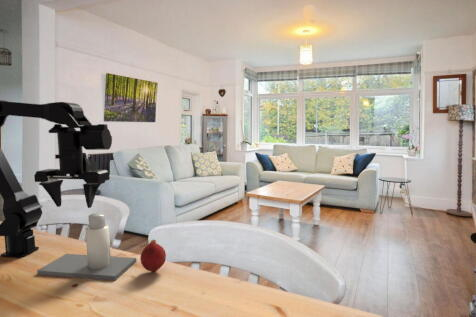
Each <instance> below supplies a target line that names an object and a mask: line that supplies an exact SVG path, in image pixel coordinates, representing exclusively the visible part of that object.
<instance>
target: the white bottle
mask: <svg viewBox="0 0 476 317" xmlns="http://www.w3.org/2000/svg"><path fill="white" fill-rule="evenodd" d="M87 217H88V225H87V226H86V227H85V244H86V255H87V261H88V268H89V269H102V268H105V267H107V266H109V265H110V264H111V243H110V242H111V241H110V240H111V239H110V226H109V224H108V223H106V214H105V213H104V212H96V213H95V212H94V213H90V214H88V216H87Z"/></svg>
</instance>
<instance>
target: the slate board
mask: <svg viewBox="0 0 476 317" xmlns="http://www.w3.org/2000/svg"><path fill="white" fill-rule="evenodd" d="M110 256H111V255H110ZM135 263H137V257H126V256H111V264H110V265H109V266H107V267H105V268H102V269H89V268H88V261H87V254H81V253H80V254H79V253H65V254H63V255H62V256H60V257H58V258H56V259H54V260H53V261H51V262H49V263H48V264H45V265H44V266H42V267H41V268H38V269H37V271H36V272H37V273H36V274H37V276H38V275H40V276H41V275H42V276H50V277H51V276H53V277H54V276H55V277H67V278H80V279H81V278H82V279H96V280H105V281H107V280H108V281H116V280H118V279H119V278H120V277H121V276H122V275H123V274H124V273H125V272H127V271H128V270H129V269H130V268H131V267H132V266H133V265H134V264H135Z"/></svg>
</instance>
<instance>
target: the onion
mask: <svg viewBox="0 0 476 317" xmlns="http://www.w3.org/2000/svg"><path fill="white" fill-rule="evenodd" d="M166 259H167V253H166V250H165V249H164V247H163V246H162V245H160V244H159V243H157V240H156V239H154V238H153V239H151V240H150V242H149V244H147V245H145V247H143V249H142V252H141V254H140V260H139V261H140V264H141V265H142V267H143V269H145V270H146V271H148V272H151V273H156V272H158V270H160V269H161V268H162V267H163V265H165V262H166Z"/></svg>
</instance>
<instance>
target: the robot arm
mask: <svg viewBox="0 0 476 317" xmlns="http://www.w3.org/2000/svg"><path fill="white" fill-rule="evenodd" d="M84 113H85V112H84V109H83V107H81V105H79V104H78V103H74V102H73V103H72V102H64V101H56V102H48V103H41V104H39V103H28V102H27V103H26V102H17V101H16V102H15V101H8V100H3V99H2V100H1V99H0V128H2V127H4V125H5V122H6V120H7V118H8V117H9V116H12V117H13V116H14V117H24V118H36V119H37V118H38V119H42V120H45V121H48V122H51V123H53V126H52V127H51V128H50V129H49V130H48V132H47V133H48V134H57V135H56V136H57V150H58V153H57V154H54V156H55V157H54V159H56V160H58V164H59V168H48V169H41V170H36V172H35V173H34V175H33V176H34V182H35V183H38V185H39V186H42V188H44V190H45V191H46V192H47V194H48V195H49V196H50V199H51V200H52V201H53V203H54V205H55V206H56V207H57V208H60V207H61V206H62V188H61V186H62V184H63V182H64V180H83V181H84V182H85V183H84V184H83V183H82V187H83V192H84V197H85V202H86V203H85V204H86V206H87V208H88V209H90V208H92V206H93V204H94V200H95V197H96V194H97V192H98V189H99V187H100V186H101V185H102V184H105V183H106V181H109V180H110V172H109V171H108V170H107V169H97V168H98V167H97V165H98V162H97V161H95V160H93V159H90V158H88V156H87V153H86V152H83V151H84V150H83V148H84V149H85V151H86V150H88V151H89V150H90V151H95V150H97V151H99V150H106V151H107V150H110V149H111V147H112V144H113V143H112V142H113V136H112V135H111V131H110V130H109V128H108V124H106V123H99V124H92V123H91V121H90V120H89V119H88V118H87V116H86V115H85V114H84ZM54 123H55V124H54ZM63 125H65V126H63ZM77 129H79V130H77ZM0 196H1V198H2V201H3V205H2V214H3V217H4V220H3V221H2V222H1V223H0V237H4V247H5V251H4V252H3V253H0V256H1V257H6V258H8V257H10V258H23V257H25V256H27V255H29V254H31V253H33V252H35V251H37V250H39V249H40V247H39V246H36V238H35V235H34V229H32V228H35V227H37V225H38V222H39V221H40V219H41V218H42V215H43V210H42V208H43V205H42V204H40V201H39V200H38V196H37V195H36V194H31V195H29V194H27V193H26V192H24V189H23V188H22V186H21V184H20V182H19V180H18V178H17V175H16V174H15V172H14V170H13V168H12V167H11V165H10V163H9V161H8V159H7V157H6V156H5V153H4V152H3V149H2V148H1V147H0Z"/></svg>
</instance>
